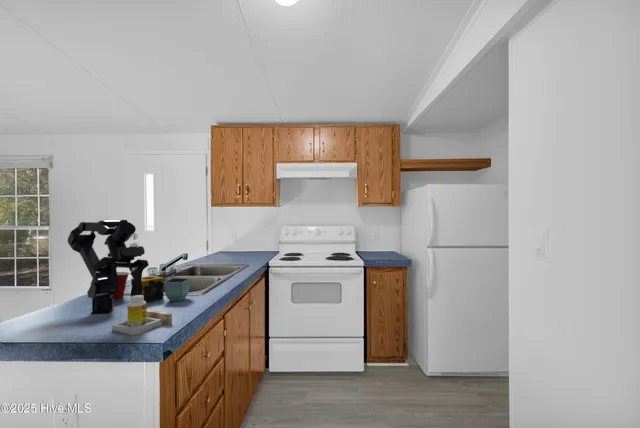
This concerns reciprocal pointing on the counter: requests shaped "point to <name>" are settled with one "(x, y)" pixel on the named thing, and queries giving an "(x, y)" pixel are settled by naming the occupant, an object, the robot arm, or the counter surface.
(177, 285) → the flower pot
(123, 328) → the square tray
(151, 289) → the yellow and black cube
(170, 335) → the counter surface
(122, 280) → the plastic cup
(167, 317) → the oak sill
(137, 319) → the supplement bottle
